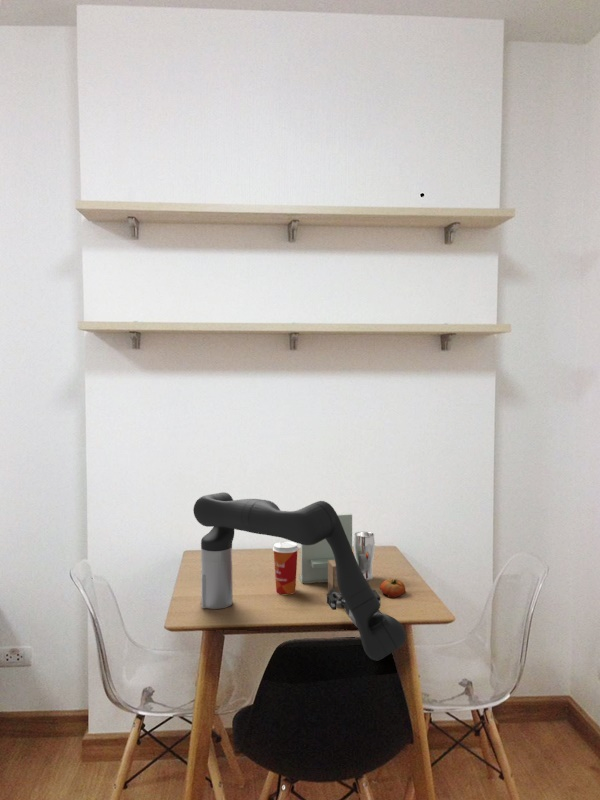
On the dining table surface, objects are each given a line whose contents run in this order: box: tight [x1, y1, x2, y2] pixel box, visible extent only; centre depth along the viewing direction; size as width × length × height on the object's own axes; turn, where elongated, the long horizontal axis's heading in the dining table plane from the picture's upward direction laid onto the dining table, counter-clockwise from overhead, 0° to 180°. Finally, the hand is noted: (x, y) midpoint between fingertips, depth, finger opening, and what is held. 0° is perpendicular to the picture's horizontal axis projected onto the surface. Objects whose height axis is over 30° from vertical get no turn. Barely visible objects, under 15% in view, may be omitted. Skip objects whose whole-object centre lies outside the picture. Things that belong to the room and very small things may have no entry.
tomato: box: [379, 578, 406, 599], centre depth 197 cm, size 8×7×7 cm
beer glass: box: [353, 531, 376, 582], centre depth 212 cm, size 7×7×15 cm
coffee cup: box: [272, 541, 300, 595], centre depth 199 cm, size 8×8×15 cm
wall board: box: [298, 513, 353, 584], centre depth 208 cm, size 17×10×22 cm, turn 101°
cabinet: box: [327, 560, 340, 600], centre depth 190 cm, size 5×7×12 cm
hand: (346, 590), depth 181 cm, fingers open, 8 cm apart
